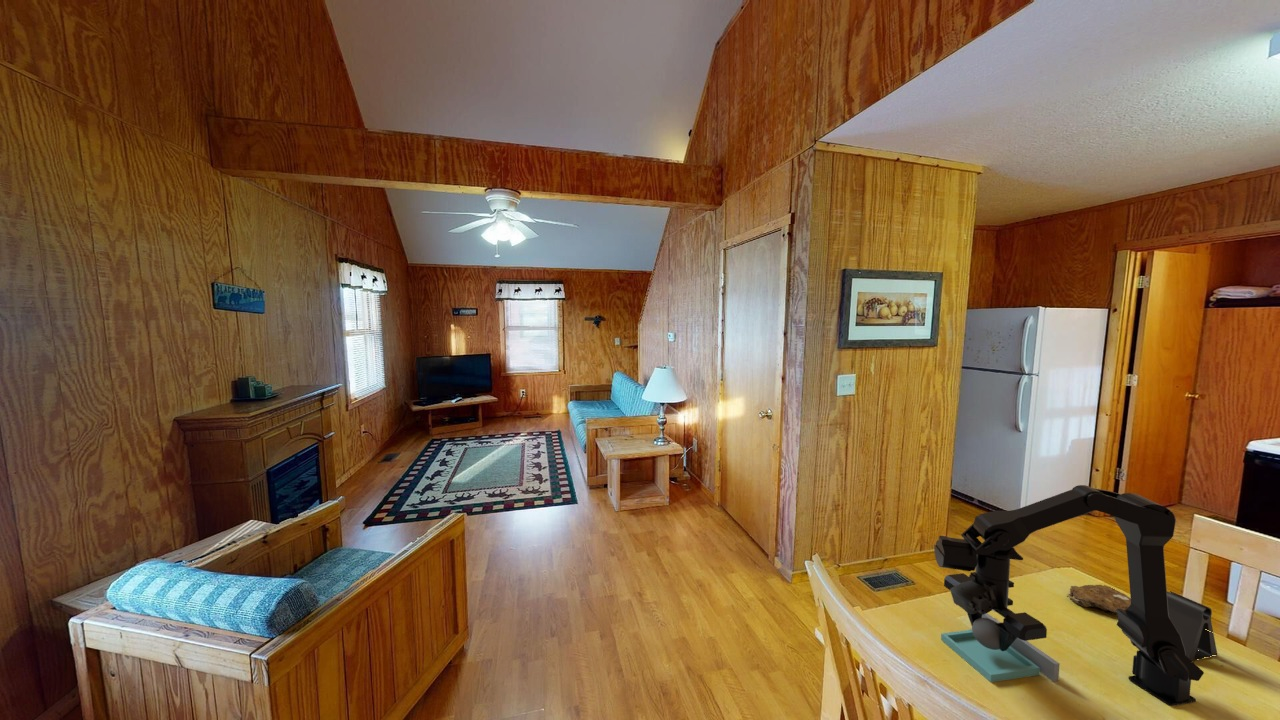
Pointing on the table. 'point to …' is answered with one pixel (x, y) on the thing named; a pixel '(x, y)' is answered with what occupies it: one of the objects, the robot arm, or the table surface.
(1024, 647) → the low wall
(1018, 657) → the dish
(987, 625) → the ball
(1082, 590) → the decorative rock
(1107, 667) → the table surface
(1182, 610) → the phone stand
